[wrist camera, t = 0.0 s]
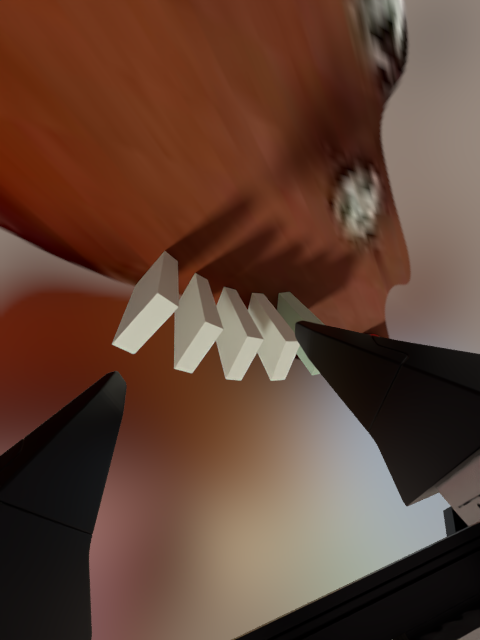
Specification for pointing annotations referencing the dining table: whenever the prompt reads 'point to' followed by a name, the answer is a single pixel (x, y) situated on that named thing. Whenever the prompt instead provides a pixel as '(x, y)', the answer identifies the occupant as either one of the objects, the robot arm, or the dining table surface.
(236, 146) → the dining table surface
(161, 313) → the domino
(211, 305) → the domino
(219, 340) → the domino
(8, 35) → the dining table surface
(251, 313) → the domino
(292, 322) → the domino
